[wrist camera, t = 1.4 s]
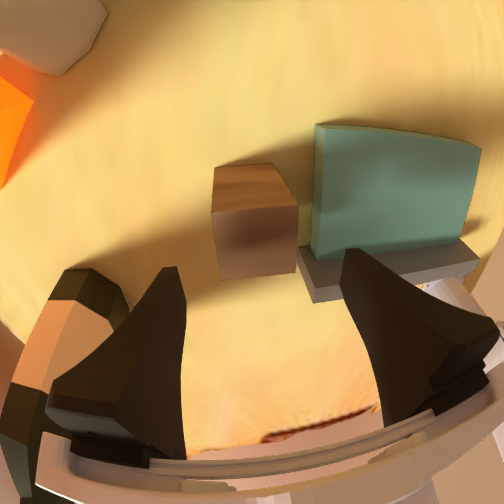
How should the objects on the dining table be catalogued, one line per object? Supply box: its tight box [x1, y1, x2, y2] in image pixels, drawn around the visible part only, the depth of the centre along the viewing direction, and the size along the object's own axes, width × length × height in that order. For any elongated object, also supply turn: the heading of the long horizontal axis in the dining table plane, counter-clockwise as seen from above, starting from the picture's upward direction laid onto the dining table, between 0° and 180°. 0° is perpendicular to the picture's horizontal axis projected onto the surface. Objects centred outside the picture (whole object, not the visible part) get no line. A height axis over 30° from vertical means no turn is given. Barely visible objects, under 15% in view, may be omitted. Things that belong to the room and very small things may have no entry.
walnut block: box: [211, 163, 298, 280], centre depth 16 cm, size 4×4×7 cm
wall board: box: [297, 124, 481, 303], centre depth 18 cm, size 12×18×5 cm, turn 93°
